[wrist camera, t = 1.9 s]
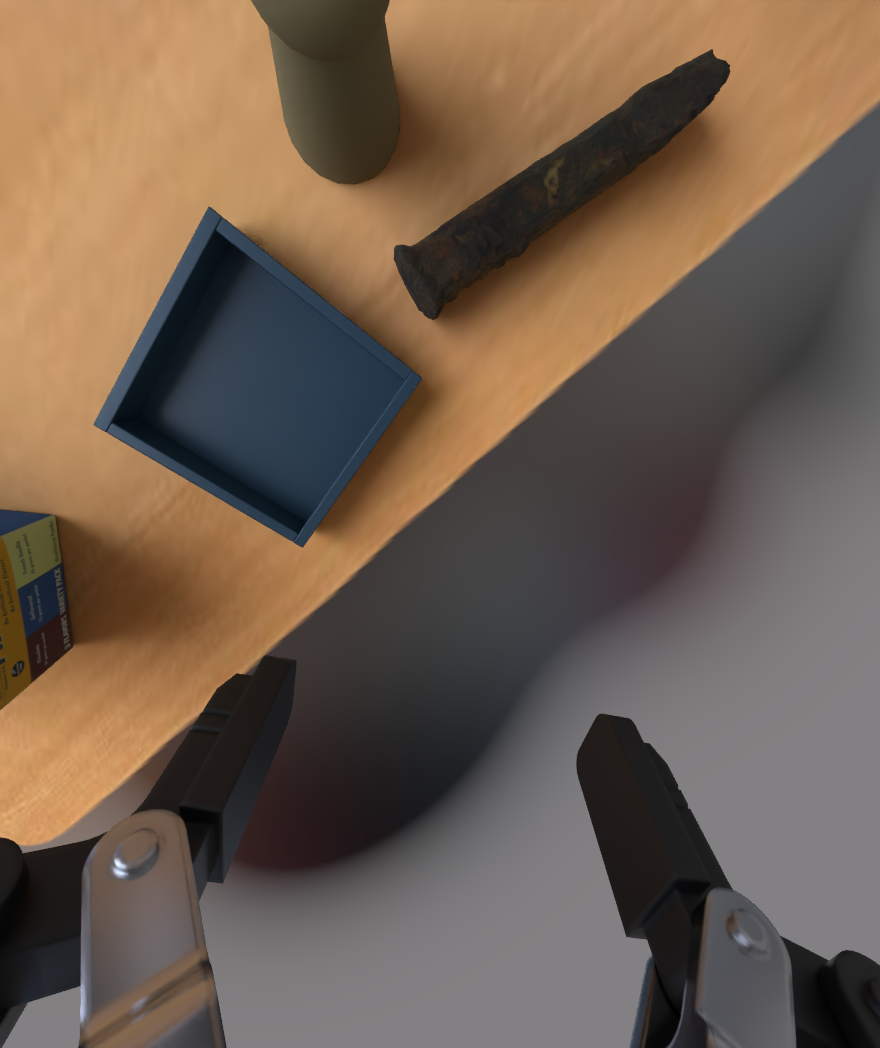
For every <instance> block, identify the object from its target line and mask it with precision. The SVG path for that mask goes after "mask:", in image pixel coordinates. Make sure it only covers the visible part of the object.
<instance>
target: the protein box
mask: <svg viewBox="0 0 880 1048" xmlns="http://www.w3.org/2000/svg"><path fill="white" fill-rule="evenodd" d="M71 648H73V641H72V634H71V628H70V621H69V613H68V606H67V598H66V590H65V583H64V576H63V568H62V561H61V555H60V547H59V540H58V533H57V526H56V519H55V516H54V515H50V514H39V513H29V512H19V511H8V510H0V710H1V709H2V708H4V707H5V706H6V705H7V704H8V703H9V702H10V701H12V700H13V699H14V698H15V697H16V696H17V695H19V694H20V693H21V692H22V691H23V690H24V689H25V688H27V687H28V686H29V685H30V684H31V683H32V682H33V681H34V680H36V679H37V678H38V677H39V676H40V675H41V674H43V673H44V672H45V671H46V670H47V669H48V668H50V667H51V666H52V665H53V664H54V663H55V662H56V661H58V660H59V659H60V658H61V657H62V656H63V655H64V654H66V653H67V652H68V651H69V650H70V649H71Z"/></svg>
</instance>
